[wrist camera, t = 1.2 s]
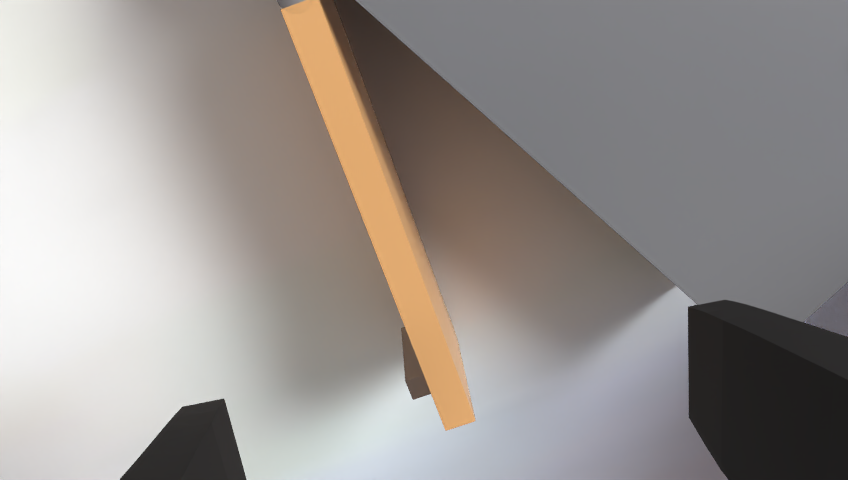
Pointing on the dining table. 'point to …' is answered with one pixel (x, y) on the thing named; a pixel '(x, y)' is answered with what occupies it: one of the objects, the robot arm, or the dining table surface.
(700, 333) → the robot arm
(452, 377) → the door
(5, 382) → the dining table surface
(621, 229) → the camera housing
